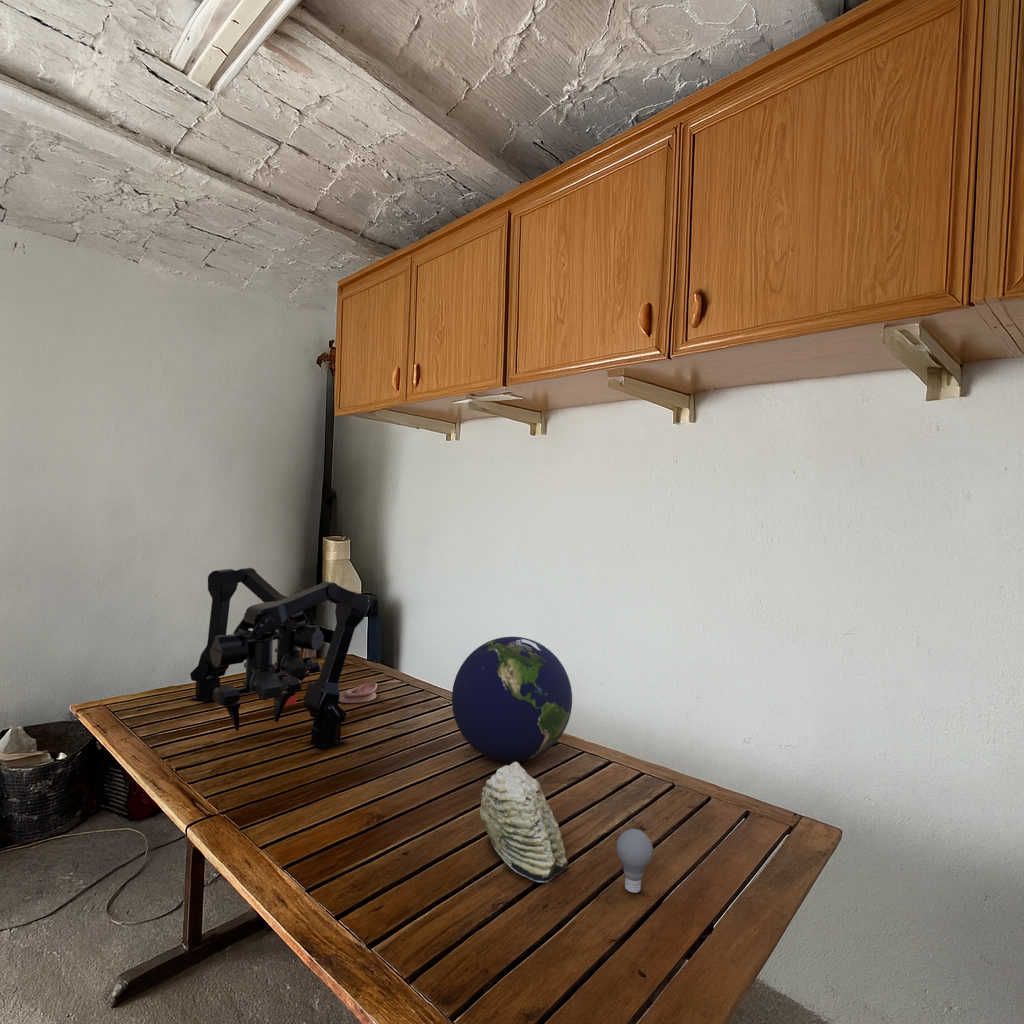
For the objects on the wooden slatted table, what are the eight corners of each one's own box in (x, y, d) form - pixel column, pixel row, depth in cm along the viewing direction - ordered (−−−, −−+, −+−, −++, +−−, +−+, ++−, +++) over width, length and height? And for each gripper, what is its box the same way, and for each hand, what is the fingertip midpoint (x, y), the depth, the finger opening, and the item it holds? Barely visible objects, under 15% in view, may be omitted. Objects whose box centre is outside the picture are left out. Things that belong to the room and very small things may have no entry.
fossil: (501, 827, 124) (504, 751, 124) (575, 868, 111) (578, 784, 111) (467, 843, 118) (470, 763, 118) (541, 889, 105) (545, 799, 105)
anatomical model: (326, 688, 195) (343, 678, 206) (325, 700, 195) (343, 690, 206) (366, 692, 192) (381, 682, 203) (365, 705, 192) (381, 694, 203)
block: (281, 706, 181) (282, 692, 181) (274, 702, 184) (275, 688, 184) (296, 703, 184) (296, 689, 184) (289, 699, 187) (289, 685, 187)
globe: (497, 727, 179) (502, 621, 178) (591, 755, 161) (596, 638, 161) (424, 759, 155) (429, 637, 154) (524, 797, 137) (530, 659, 137)
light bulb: (610, 879, 108) (613, 822, 108) (644, 879, 109) (647, 822, 109) (619, 902, 102) (622, 840, 102) (655, 901, 103) (658, 840, 103)
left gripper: (267, 656, 171) (265, 713, 172) (330, 647, 184) (328, 700, 185) (251, 648, 179) (248, 702, 180) (312, 640, 192) (310, 691, 193)
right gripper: (231, 673, 136) (228, 746, 136) (313, 661, 149) (310, 727, 149) (212, 662, 144) (210, 731, 144) (291, 651, 157) (289, 714, 157)
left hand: (285, 699), depth 184 cm, fingers closed on block, 4 cm apart
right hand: (257, 725), depth 148 cm, fingers open, 9 cm apart
